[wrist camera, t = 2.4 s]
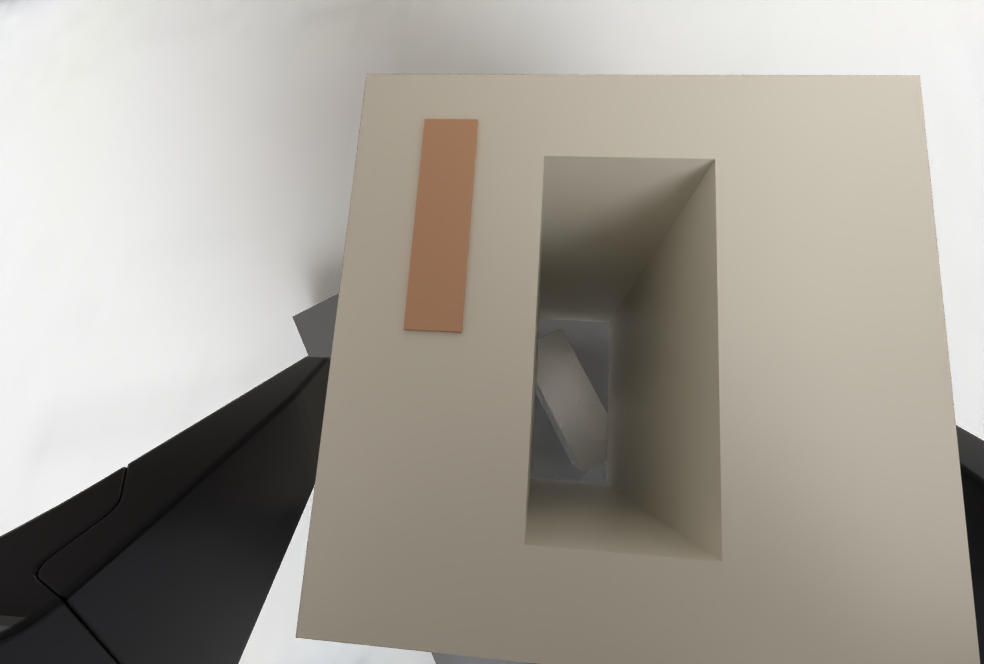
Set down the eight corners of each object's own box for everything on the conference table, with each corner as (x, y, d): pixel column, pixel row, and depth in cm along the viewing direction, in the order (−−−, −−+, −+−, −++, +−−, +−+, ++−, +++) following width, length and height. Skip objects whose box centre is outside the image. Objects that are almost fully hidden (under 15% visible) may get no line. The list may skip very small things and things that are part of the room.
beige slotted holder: (696, 534, 12) (990, 715, 4) (443, 514, 13) (292, 639, 5) (694, 287, 13) (923, 72, 5) (461, 278, 14) (365, 70, 6)
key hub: (844, 504, 17) (998, 539, 12) (471, 695, 17) (437, 827, 11) (636, 169, 20) (676, 61, 15) (316, 328, 20) (226, 284, 14)
